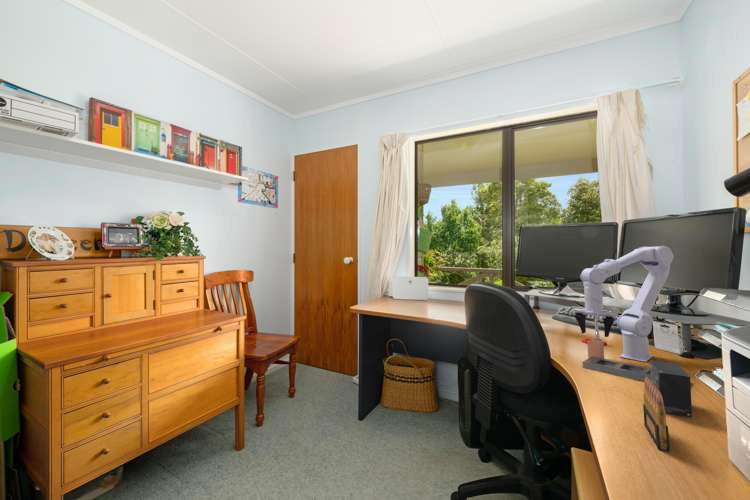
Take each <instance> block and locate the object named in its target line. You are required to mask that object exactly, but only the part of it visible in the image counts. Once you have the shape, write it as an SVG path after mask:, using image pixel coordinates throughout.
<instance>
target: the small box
mask: <svg viewBox="0 0 750 500" xmlns="http://www.w3.org/2000/svg"><path fill="white" fill-rule="evenodd" d="M649 368H650V371H651V382H652V383H653V385H655V387H656V388H657V389H658V391H660V393H661V395H662V398H663V403H664V410H665V413H666V415H667V414H668V415H673V416H678V417H684V418H690V419H693V409H692V408H693V407H692V387H691V385H692V384H691V375H690V374H689V373H687V372H686V371H685V369H683V367H682V366H681V365H680V364H678V363H673V362H666V361H665V362H664V361H658V360H651V359H649Z"/></svg>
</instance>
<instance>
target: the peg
mask: <svg viewBox="0 0 750 500" xmlns="http://www.w3.org/2000/svg"><path fill="white" fill-rule="evenodd" d="M594 339H595V338H592V339H591V340H589V341H587V343H586V344H587V359H588V358H590V357H592V356H593V357H598V358H603V359H605V345H604V343H603V341H604V340H603V341H600V340H594Z"/></svg>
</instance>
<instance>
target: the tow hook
mask: <svg viewBox="0 0 750 500" xmlns="http://www.w3.org/2000/svg"><path fill="white" fill-rule="evenodd" d="M594 327H595V328H594V330H595V333H594V336H595V338H591V337H589V338H582V339H581V342H582V343H585V344H588V343H587V340H591V339H594V340H600V341H603V343H604V346H606V345H608V342H607V341H604V340H603V339H600V333H599V332H600V331H599V321H598V316H594Z"/></svg>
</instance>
